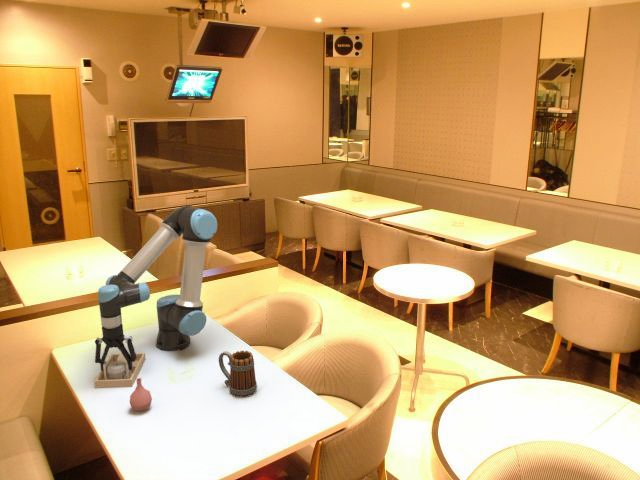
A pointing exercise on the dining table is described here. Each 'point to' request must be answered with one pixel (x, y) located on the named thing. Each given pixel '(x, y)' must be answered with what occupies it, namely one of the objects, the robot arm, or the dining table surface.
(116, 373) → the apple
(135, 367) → the wooden compartment tray
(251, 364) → the mug
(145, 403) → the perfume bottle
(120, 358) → the egg
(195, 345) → the dining table surface
